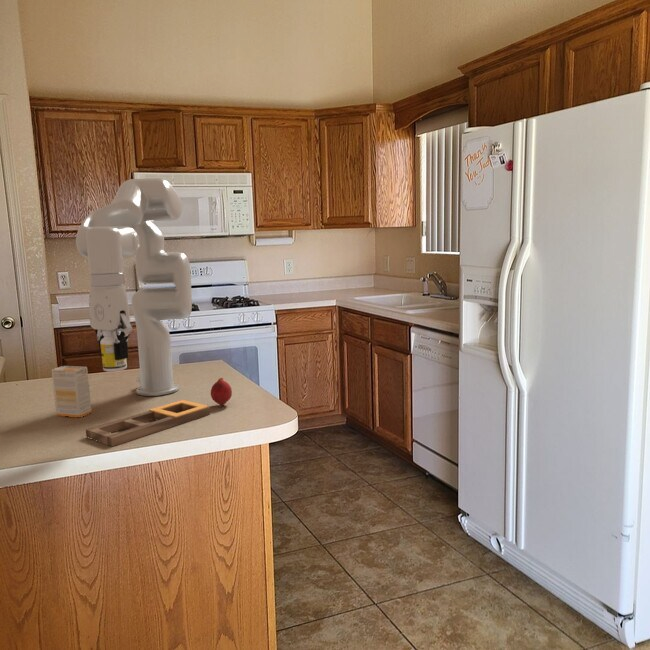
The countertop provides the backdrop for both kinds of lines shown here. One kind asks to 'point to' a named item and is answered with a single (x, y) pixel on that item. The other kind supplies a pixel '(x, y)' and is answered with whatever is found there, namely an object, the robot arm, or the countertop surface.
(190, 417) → the socket rail
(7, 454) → the countertop surface
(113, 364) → the supplement bottle
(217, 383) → the onion
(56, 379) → the supplement box
